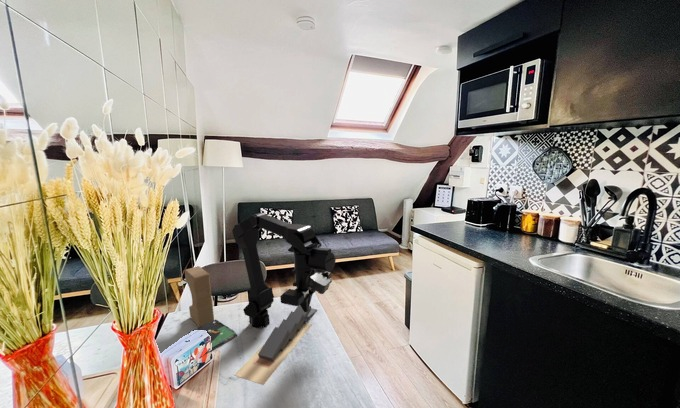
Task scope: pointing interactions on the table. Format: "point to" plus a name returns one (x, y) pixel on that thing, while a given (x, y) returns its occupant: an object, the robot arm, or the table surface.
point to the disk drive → (218, 333)
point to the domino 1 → (273, 344)
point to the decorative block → (200, 295)
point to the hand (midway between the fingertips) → (306, 311)
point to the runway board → (263, 368)
